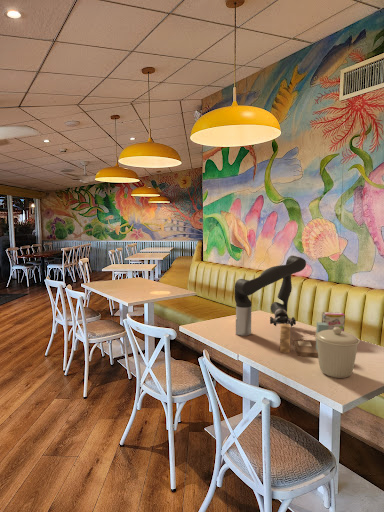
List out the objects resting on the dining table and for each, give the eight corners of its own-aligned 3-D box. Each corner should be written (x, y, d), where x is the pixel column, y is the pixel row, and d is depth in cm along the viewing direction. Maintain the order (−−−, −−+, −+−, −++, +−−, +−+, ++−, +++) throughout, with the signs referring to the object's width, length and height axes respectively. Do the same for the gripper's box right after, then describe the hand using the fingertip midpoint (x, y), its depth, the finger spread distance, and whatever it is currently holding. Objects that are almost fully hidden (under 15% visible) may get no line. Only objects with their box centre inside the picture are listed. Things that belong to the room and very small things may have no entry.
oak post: (280, 352, 171) (281, 326, 170) (279, 349, 176) (280, 323, 174) (289, 353, 170) (290, 326, 169) (288, 349, 175) (289, 324, 173)
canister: (305, 370, 150) (307, 326, 148) (328, 361, 161) (330, 318, 158) (343, 387, 135) (345, 337, 133) (366, 375, 146) (368, 328, 144)
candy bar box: (323, 342, 185) (324, 314, 183) (320, 339, 190) (321, 311, 188) (344, 343, 184) (345, 314, 182) (341, 339, 189) (342, 312, 187)
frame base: (297, 355, 167) (298, 325, 165) (293, 342, 185) (294, 314, 183) (331, 357, 164) (332, 326, 163) (323, 344, 182) (324, 316, 180)
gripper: (269, 309, 200) (270, 317, 184) (293, 310, 197) (297, 318, 181) (269, 321, 200) (270, 330, 185) (293, 322, 198) (296, 331, 182)
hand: (283, 324), depth 183 cm, fingers open, 8 cm apart
